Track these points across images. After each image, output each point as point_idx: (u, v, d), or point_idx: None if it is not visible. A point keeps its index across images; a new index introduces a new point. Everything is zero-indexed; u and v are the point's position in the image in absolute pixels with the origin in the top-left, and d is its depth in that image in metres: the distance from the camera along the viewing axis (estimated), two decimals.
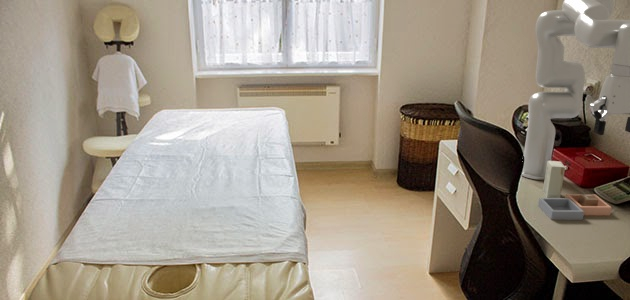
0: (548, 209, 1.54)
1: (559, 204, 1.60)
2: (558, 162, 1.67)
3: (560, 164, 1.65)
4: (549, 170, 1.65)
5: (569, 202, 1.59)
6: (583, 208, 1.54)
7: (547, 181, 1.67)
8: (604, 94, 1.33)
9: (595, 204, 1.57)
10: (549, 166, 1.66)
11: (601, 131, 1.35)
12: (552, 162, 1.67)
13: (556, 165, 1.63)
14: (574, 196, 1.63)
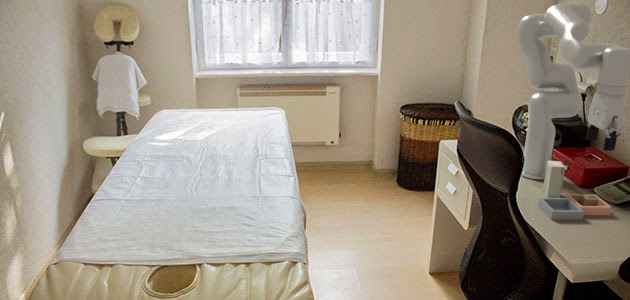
0: (548, 209, 1.54)
1: (559, 204, 1.60)
2: (558, 162, 1.67)
3: (560, 164, 1.65)
4: (549, 170, 1.65)
5: (569, 202, 1.59)
6: (583, 208, 1.54)
7: (547, 181, 1.67)
8: (614, 114, 1.44)
9: (595, 204, 1.57)
10: (549, 166, 1.66)
11: (614, 147, 1.47)
12: (552, 162, 1.67)
13: (556, 165, 1.63)
14: (574, 196, 1.63)
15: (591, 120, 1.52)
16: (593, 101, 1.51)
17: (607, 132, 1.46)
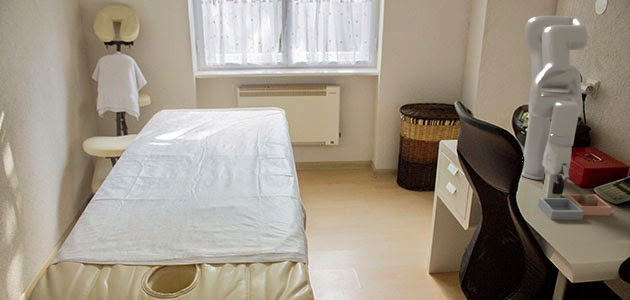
0: (548, 209, 1.54)
1: (559, 204, 1.60)
2: None
3: None
4: None
5: (569, 202, 1.59)
6: (583, 208, 1.54)
7: (547, 181, 1.67)
8: (563, 162, 1.60)
9: (595, 204, 1.57)
10: None
11: (562, 191, 1.64)
12: None
13: None
14: (574, 196, 1.63)
15: (545, 165, 1.67)
16: (546, 147, 1.67)
17: (556, 178, 1.63)
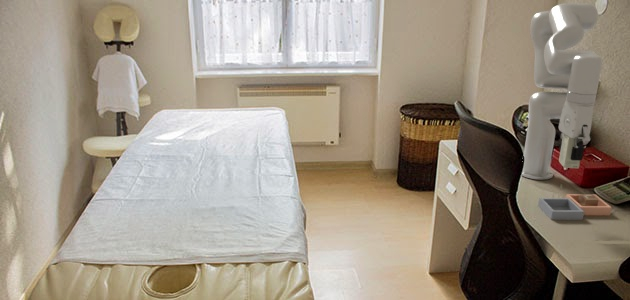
0: (548, 209, 1.54)
1: (559, 204, 1.60)
2: None
3: None
4: None
5: (569, 202, 1.59)
6: (583, 208, 1.54)
7: (565, 146, 1.49)
8: (584, 123, 1.42)
9: (595, 204, 1.57)
10: None
11: (581, 156, 1.46)
12: None
13: None
14: (574, 196, 1.63)
15: (562, 128, 1.50)
16: (563, 108, 1.49)
17: (575, 142, 1.45)
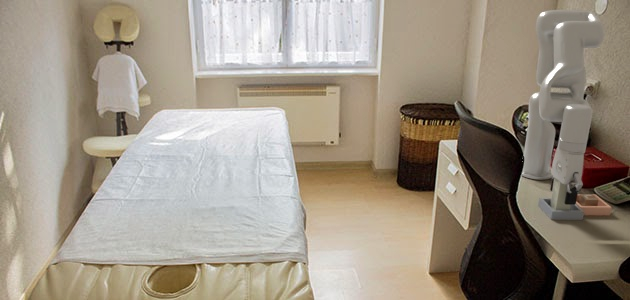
0: (548, 209, 1.54)
1: None
2: None
3: None
4: (557, 183, 1.53)
5: None
6: (583, 208, 1.54)
7: (555, 194, 1.55)
8: (575, 170, 1.47)
9: (595, 204, 1.57)
10: None
11: (575, 201, 1.50)
12: None
13: None
14: None
15: (554, 173, 1.54)
16: (555, 154, 1.54)
17: (568, 187, 1.49)
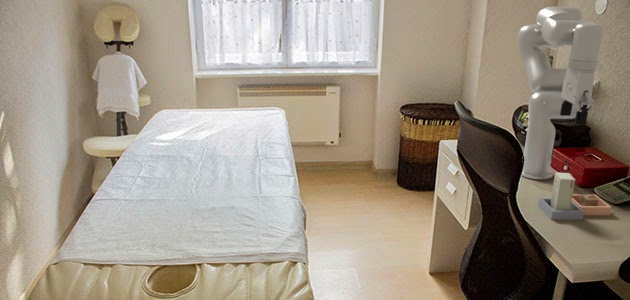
0: (548, 209, 1.54)
1: None
2: (567, 174, 1.55)
3: (569, 176, 1.53)
4: (558, 183, 1.53)
5: None
6: (583, 208, 1.54)
7: (555, 194, 1.55)
8: (585, 89, 1.49)
9: (595, 204, 1.57)
10: (557, 178, 1.53)
11: (585, 120, 1.52)
12: (560, 174, 1.55)
13: (566, 178, 1.51)
14: (574, 196, 1.63)
15: (564, 95, 1.56)
16: (566, 76, 1.56)
17: (578, 106, 1.51)
